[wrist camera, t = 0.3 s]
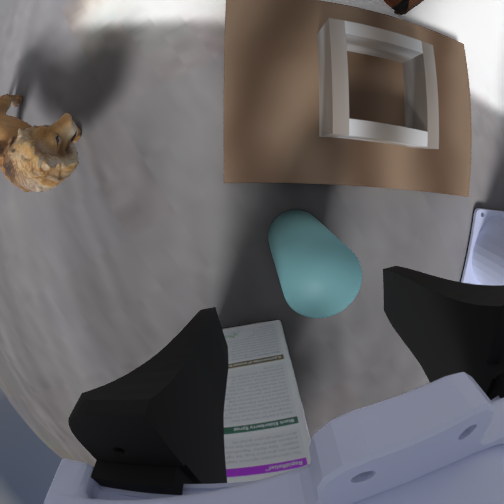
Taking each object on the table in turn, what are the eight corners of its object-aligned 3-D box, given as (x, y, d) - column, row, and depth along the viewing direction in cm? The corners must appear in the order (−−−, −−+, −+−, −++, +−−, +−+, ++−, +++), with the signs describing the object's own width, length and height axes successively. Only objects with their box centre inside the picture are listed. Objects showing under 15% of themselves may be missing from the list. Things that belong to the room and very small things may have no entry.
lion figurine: (128, 126, 18) (59, 114, 10) (104, 194, 20) (32, 222, 11) (6, 90, 16) (-62, 83, 8) (-10, 144, 18) (-78, 154, 9)
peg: (323, 210, 21) (366, 242, 13) (319, 262, 22) (355, 315, 15) (268, 209, 21) (284, 242, 13) (267, 262, 22) (280, 319, 14)
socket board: (455, 46, 16) (484, 37, 12) (460, 194, 21) (491, 203, 17) (226, 2, 16) (224, -26, 12) (224, 181, 20) (220, 188, 16)
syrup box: (211, 328, 24) (190, 489, 10) (283, 316, 24) (320, 476, 10) (227, 378, 26) (222, 522, 12) (291, 367, 25) (321, 511, 12)
